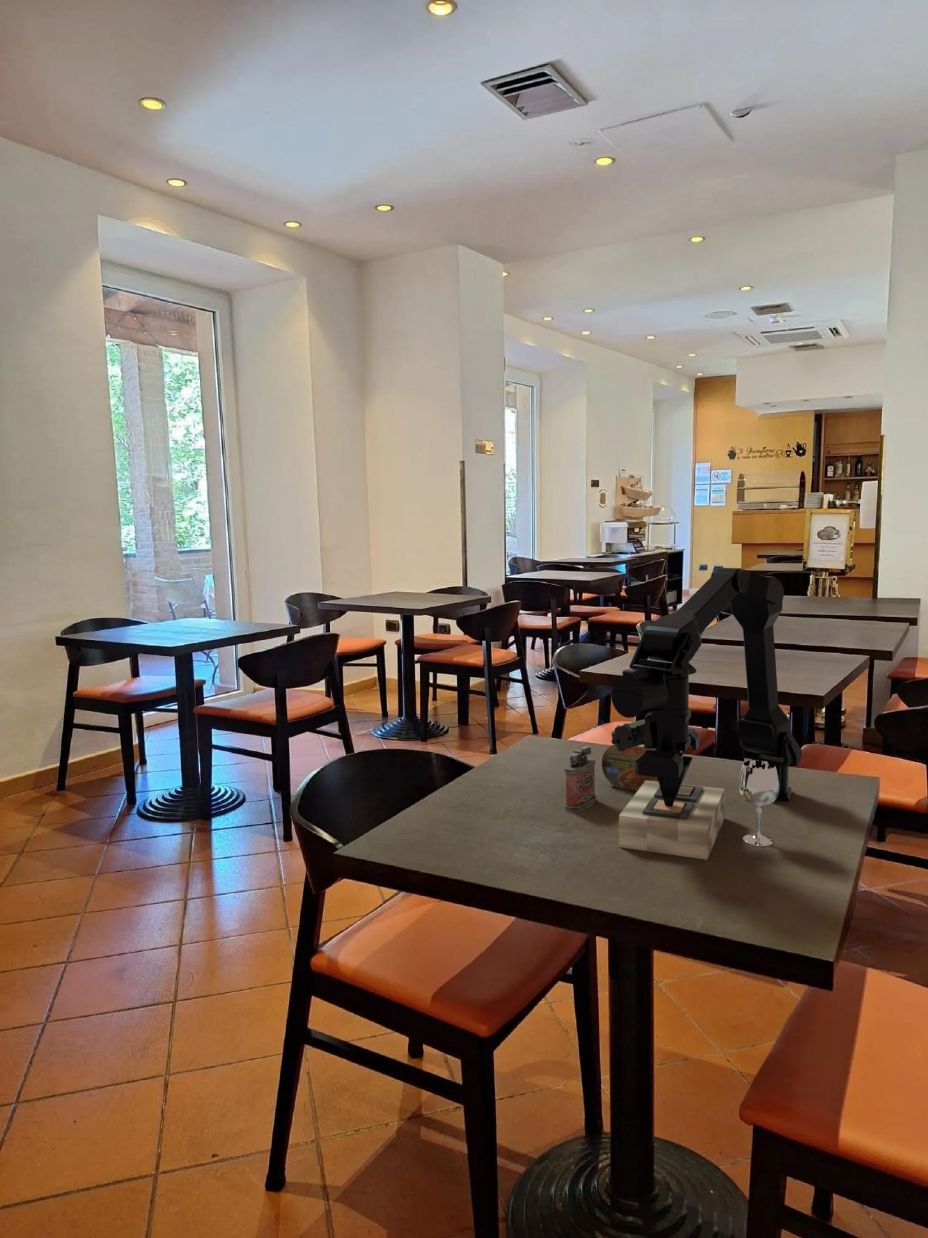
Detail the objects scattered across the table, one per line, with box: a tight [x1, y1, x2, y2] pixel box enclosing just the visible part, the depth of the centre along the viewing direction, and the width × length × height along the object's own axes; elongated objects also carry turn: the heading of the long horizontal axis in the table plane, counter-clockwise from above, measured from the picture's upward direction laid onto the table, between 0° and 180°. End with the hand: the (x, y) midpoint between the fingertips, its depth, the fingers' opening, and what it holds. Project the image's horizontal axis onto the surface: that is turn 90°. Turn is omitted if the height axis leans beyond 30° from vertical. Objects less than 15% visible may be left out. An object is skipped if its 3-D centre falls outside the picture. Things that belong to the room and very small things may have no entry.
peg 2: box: [677, 786, 694, 797], centre depth 132 cm, size 4×4×5 cm
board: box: [618, 780, 726, 861], centre depth 129 cm, size 18×13×6 cm
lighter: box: [564, 745, 597, 813], centre depth 142 cm, size 8×3×10 cm, turn 143°
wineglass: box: [738, 759, 779, 847], centre depth 124 cm, size 6×6×12 cm
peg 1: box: [653, 800, 685, 814], centre depth 125 cm, size 4×4×5 cm
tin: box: [601, 744, 658, 792], centre depth 150 cm, size 15×3×8 cm, turn 54°
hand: (669, 805), depth 125 cm, fingers closed, pressing on peg 1
